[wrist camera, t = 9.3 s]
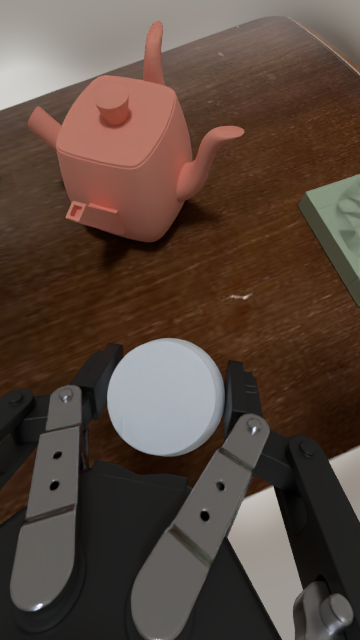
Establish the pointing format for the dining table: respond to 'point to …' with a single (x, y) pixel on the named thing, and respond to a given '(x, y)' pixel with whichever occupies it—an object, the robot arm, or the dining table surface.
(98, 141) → the teapot
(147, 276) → the dining table surface
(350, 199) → the socket pad
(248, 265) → the dining table surface
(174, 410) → the pill bottle
